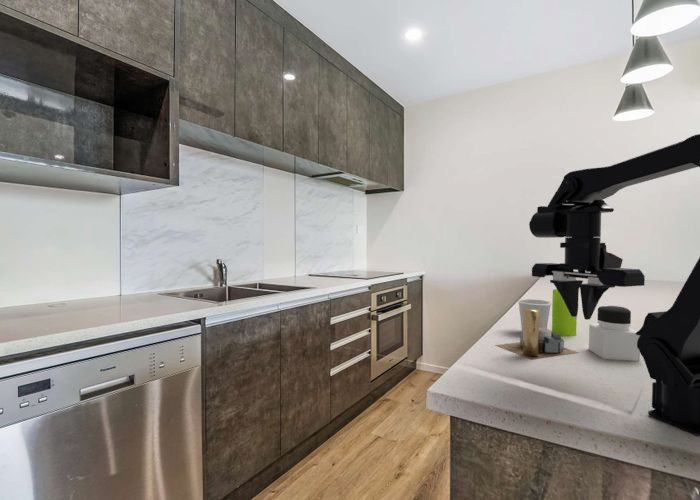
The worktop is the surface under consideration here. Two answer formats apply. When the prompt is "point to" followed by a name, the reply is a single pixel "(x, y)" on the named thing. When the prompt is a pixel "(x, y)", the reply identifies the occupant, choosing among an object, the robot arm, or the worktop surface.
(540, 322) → the dixie cup
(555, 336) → the desk sculpture ornament
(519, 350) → the mount board
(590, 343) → the medicine bottle
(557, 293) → the soap dispenser
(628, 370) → the worktop surface
